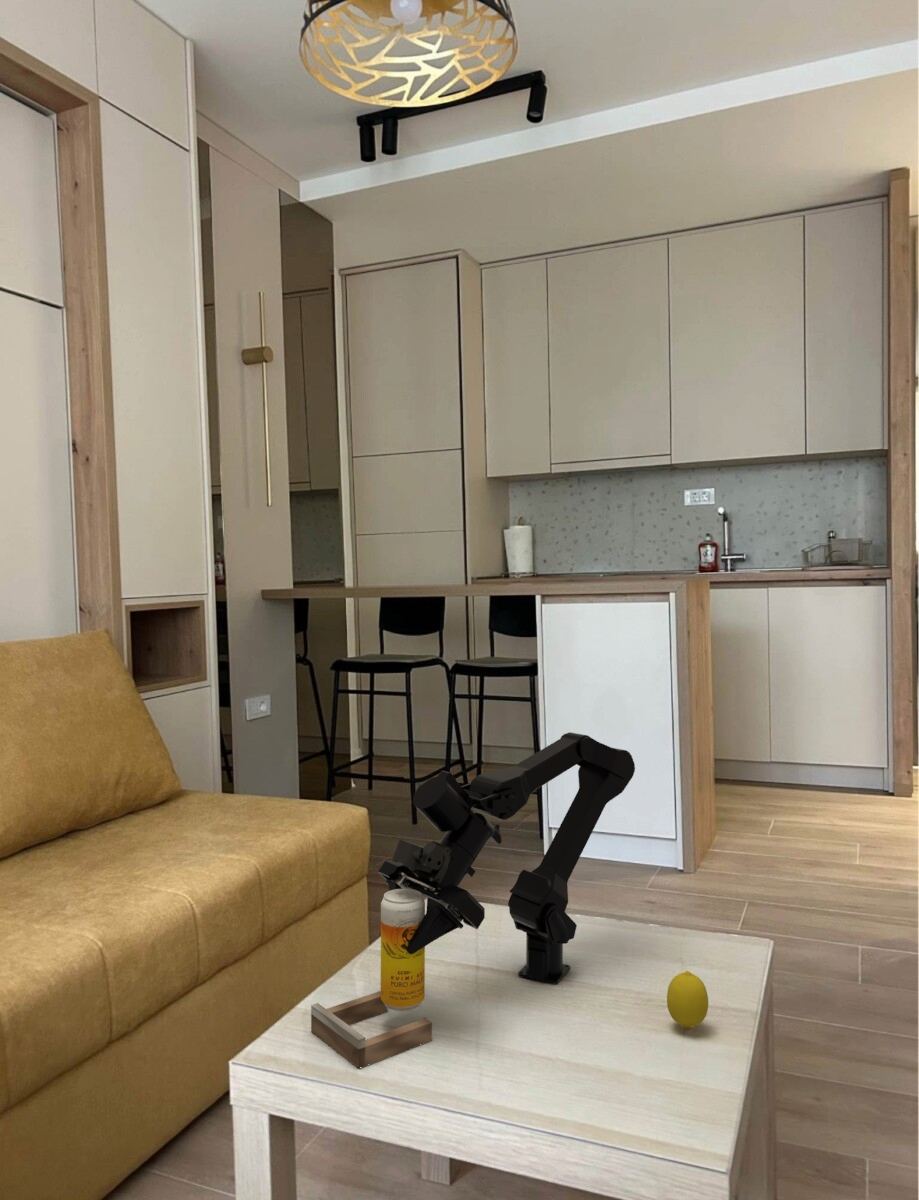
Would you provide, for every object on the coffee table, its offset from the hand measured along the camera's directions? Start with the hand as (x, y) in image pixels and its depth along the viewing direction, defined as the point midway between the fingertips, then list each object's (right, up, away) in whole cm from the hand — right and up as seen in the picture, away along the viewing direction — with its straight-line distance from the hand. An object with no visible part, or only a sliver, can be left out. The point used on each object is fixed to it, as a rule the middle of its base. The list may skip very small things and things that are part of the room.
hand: (395, 945), depth 124 cm
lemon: (+40, -12, 0) cm, 42 cm away
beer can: (+1, -9, +1) cm, 9 cm away
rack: (-3, -11, -2) cm, 12 cm away
